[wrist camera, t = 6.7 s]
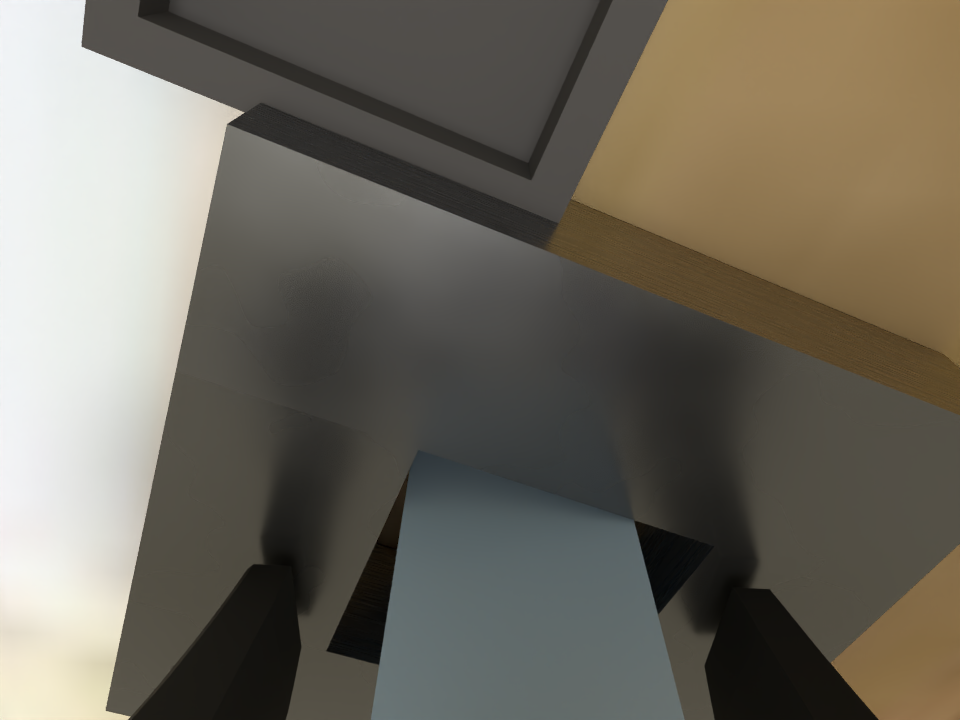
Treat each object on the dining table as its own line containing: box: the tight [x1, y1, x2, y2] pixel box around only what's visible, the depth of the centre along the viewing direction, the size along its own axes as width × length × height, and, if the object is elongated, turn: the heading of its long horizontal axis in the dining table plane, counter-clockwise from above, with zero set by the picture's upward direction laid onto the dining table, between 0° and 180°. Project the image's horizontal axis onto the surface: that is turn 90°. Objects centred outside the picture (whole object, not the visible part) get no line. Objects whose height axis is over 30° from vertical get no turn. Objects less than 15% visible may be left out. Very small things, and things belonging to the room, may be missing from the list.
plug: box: [371, 450, 685, 720], centre depth 10 cm, size 4×4×8 cm
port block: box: [106, 103, 960, 720], centre depth 13 cm, size 12×12×3 cm
